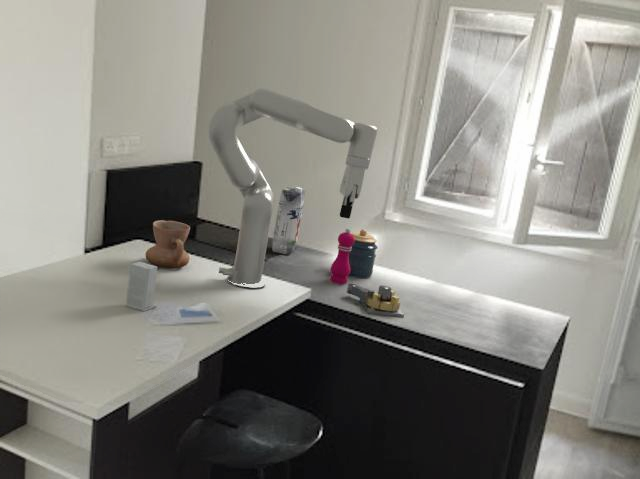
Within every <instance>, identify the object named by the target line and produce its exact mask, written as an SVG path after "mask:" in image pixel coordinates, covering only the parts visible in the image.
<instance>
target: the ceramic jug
mask: <svg viewBox="0 0 640 479" xmlns="http://www.w3.org/2000/svg"><path fill="white" fill-rule="evenodd" d="M152 230H153V236H154V239H155V243H156V244H155V245H153V246H151V247H150V248H148V249H147V250H146V252H145V259H146V261H147V262H148V263H149V264H150V265H153V266H157V268H163V269H167V270H168V269H170V270H173V269H174V268H175V269H179V268H180V269H181V268H183V267H186V266H187V265H189V262H190V255H189V254H188V252H187V251H186V250H185V249H184V245H185V243H186V240H187V239H188V236H189V234H190V230H191V226H190V225H188V224H186V223H183V222H179V221H175V220H167V221H166V219H165V220H163V219H162V220H155V221H154V222H152Z"/></svg>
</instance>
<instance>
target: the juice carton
mask: <svg viewBox="0 0 640 479" xmlns="http://www.w3.org/2000/svg"><path fill="white" fill-rule="evenodd" d="M305 194H306V191H305V190H303V188H302V187H299V186H296V187H295V188H292V187H286V188H284V189H281V193H280V196H279V202H278V206H277V213H276V219H275V226H274V231H273V238H272V243H271V244H272V245H271V246H272V247H271V248H272V252H273V253H279V254H283V255H287V256H290V255H291V254H292V253H293V252H294V251H295V248H296V246H297V243H298V238H299V233H300V226H301V221H302V215H303V209H304V205H305V203H304V202H305V196H306V195H305Z"/></svg>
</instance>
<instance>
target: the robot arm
mask: <svg viewBox="0 0 640 479" xmlns="http://www.w3.org/2000/svg"><path fill="white" fill-rule="evenodd" d="M261 118H266V119H269V120H272V121H274V122H277V123H281V124H283V125H285V126H289V127H291V128H295V129H296V130H299V131H304V132H307V133H310V134H313V135H316V136H318V137H321V138H324V139H327V140H330V141H333V142H335V143H337V144H338V143H339V144H345V143H349V147H348V150H347V156H346V160H345V170H344V172H343V175H342V179H341V183H340V186H339V193H340V195H342V196H343V199H342V204H341V206H340V207H341V208H340V212H339V217H341V218H343V219H344V218H345V219H350V218H351V215H352V210H353V207H354V203H355V199H356V200H357V199H359V197H360V195H361V192H362V186H363V182H364V178H365V172H366V171H365V170H369V166H370V163H371V160H372V159H371V158H372V155H373V154H372V153H373V151H374V147H375V141H376V138H377V134H378V129H377V127H376V126H375V125H371V124H367V123H363V122H356V121H352V120H350V119H349V118H348V119H347V118H345V117H341V116H340V117H339V116H337V115H335V114H331V113H328V112H326V111H323V110H320V109H318V108H316V107H315V106H312V105H310V104H309V103H306V102H305V101H302V100H300V99H299V100H298V99H297V98H292V97H290V96H288V95H285V94H282V93H279V92H277V91H274V90H271V89H269V88H265V87H263V88H261V87H260V88H257V89H255V90H254V91H253V92H251V93H250V94H247V95H245V96H242V97H240V98H237V99H236V100H233V101H231V102H228V103H224V104H222V105H219V107H218V108H217V109H216V110H215V111H214V112H213V115H212V117H211V119H210V121H209V124H208V138H209V142H210V144H211V146H212V149H213V150H214V152H215V155H216V156H217V157H218V158H217V159H218V160H219V162H220V164H221V167H222V168H223V170H224V172H225V173H226V175H227V177H228V179H229V182H230V183H231V184H232V185H233V187H235V188H237V189H238V190H239V193H240V194H241V196H242V197H243V199H244V200H243V204H242V210H241V217H240V218H241V219H240V226H239V230H238V231H239V232H238V239H237V245H236V252H235V258H234V264H233V265H232V266H231V267H229V268H227V267H219V268H218V273H219V274H222V275H223V276H227V278H226V280H227V279H228V280H229V281H231V282H233V283H237V284H241V283H242V284H243V283H246V284H255V283H259V282H260V281H261V279H262V277H263V276H262V275H263V271H264V266H265V258H266V253H267V246H268V241H269V235H270V234H269V233H270V228H271V223H272V217H273V212H274V208H275V207H274V206H275V195H274V193H273V190H272V188H271V187H270V185H269V183H268V181H267V180H266V178H265V175H264V174H263V172H262V170H261V169H260V166H259V165H258V164H257V162H256V161H255V160H254V159H253V158H250V157H249V156H248V154H247V153H246V151H245V148H244V147H243V145H242V143H241V141H240V140H239V138H238V135H237V130H238V129H239V128H241V127H244V126H245V125H248V124H250V123H252V122H254V121H257V120H259V119H261ZM243 285H245V284H243Z"/></svg>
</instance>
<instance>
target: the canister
mask: <svg viewBox="0 0 640 479" xmlns="http://www.w3.org/2000/svg"><path fill="white" fill-rule="evenodd" d="M351 234H352V235H353V236H354V239H355V241H354V244H353V245H352V246H351V247H352V248H351V251H350V252H349V264H350V274H349V275H348V277H355V278H360V279H361V278H362V279H368V278H367V277H369V278H371V277H372V275H373V271H374V265H375V260H376V256H377V255H376V251H377V250H378V245H377V244H376V243H377V239H375V237H374V236H373V235H371V234H367V230H366V228H363V229H360V230H359V232H355V231H354V232H352V233H351ZM370 276H371V277H370Z"/></svg>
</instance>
